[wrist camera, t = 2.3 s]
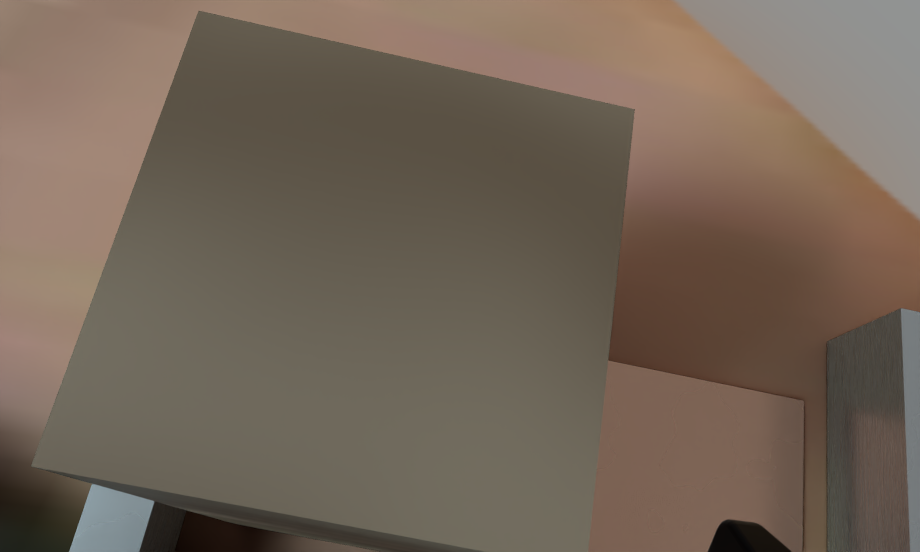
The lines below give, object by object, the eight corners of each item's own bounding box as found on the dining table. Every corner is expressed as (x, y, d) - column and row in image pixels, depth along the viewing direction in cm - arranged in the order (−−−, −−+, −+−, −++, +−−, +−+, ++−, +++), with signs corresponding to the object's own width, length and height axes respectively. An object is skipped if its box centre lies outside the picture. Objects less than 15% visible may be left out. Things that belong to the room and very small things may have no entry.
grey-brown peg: (438, 562, 18) (585, 569, 6) (238, 524, 17) (31, 465, 6) (471, 369, 19) (634, 108, 8) (289, 332, 19) (199, 10, 8)
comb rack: (879, 831, 17) (984, 886, 14) (71, 694, 16) (11, 723, 13) (869, 350, 21) (948, 318, 18) (223, 214, 20) (201, 157, 17)
